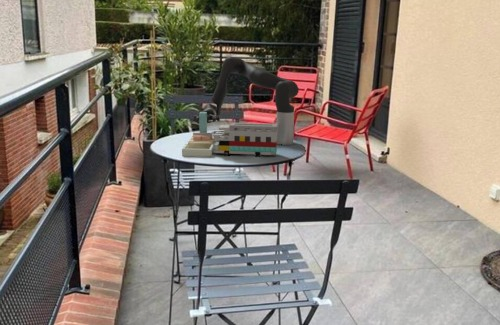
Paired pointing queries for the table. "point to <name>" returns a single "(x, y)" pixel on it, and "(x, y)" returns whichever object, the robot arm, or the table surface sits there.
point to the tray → (197, 151)
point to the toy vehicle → (247, 139)
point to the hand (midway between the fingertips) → (205, 120)
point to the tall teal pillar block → (202, 125)
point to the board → (200, 143)
